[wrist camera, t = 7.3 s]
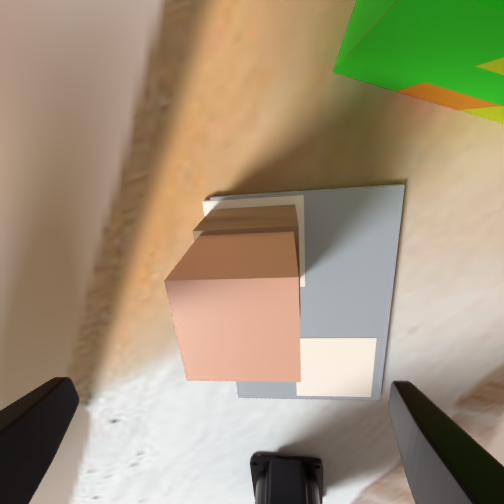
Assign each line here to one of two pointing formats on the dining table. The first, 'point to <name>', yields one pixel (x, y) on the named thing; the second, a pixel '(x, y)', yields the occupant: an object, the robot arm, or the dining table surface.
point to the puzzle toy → (430, 51)
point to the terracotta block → (238, 308)
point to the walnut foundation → (252, 223)
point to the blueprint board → (337, 287)
